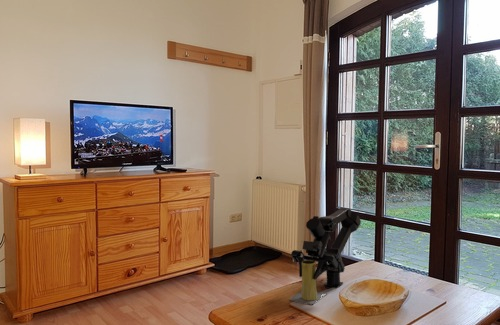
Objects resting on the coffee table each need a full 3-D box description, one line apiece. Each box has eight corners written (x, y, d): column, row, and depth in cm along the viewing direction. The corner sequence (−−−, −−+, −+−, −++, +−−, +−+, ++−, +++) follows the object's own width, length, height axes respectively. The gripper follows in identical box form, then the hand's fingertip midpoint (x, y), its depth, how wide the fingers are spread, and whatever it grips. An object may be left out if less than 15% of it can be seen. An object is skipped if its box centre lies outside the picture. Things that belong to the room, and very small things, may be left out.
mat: (304, 290, 166) (304, 289, 166) (326, 294, 160) (326, 293, 160) (289, 300, 155) (289, 299, 155) (312, 305, 149) (312, 303, 149)
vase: (314, 302, 151) (313, 264, 151) (299, 299, 154) (298, 263, 154) (319, 296, 157) (318, 260, 156) (304, 294, 159) (303, 259, 159)
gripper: (292, 230, 163) (278, 263, 155) (333, 234, 152) (321, 270, 143) (302, 245, 170) (289, 278, 161) (343, 250, 158) (331, 286, 150)
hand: (307, 278), depth 154 cm, fingers open, 6 cm apart
